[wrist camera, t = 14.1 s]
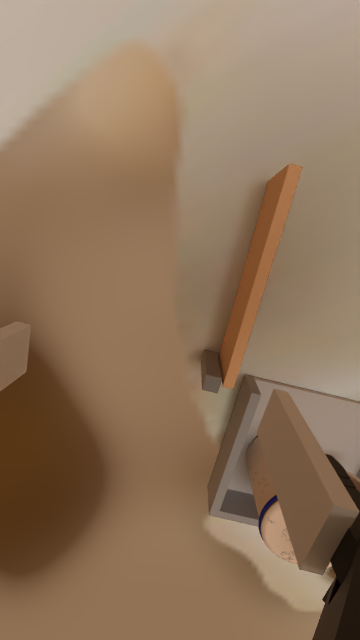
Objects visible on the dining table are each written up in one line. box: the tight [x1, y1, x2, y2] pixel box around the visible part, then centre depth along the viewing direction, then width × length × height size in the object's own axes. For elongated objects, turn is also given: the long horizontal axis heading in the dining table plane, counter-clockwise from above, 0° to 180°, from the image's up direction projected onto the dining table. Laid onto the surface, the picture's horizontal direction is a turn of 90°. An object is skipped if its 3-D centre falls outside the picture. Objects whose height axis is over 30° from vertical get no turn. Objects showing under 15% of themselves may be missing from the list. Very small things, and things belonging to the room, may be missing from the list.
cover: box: [218, 164, 303, 389], centre depth 26 cm, size 19×1×6 cm, turn 168°
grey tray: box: [201, 350, 360, 527], centre depth 31 cm, size 23×19×6 cm
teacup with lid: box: [246, 437, 360, 569], centre depth 28 cm, size 12×9×12 cm
